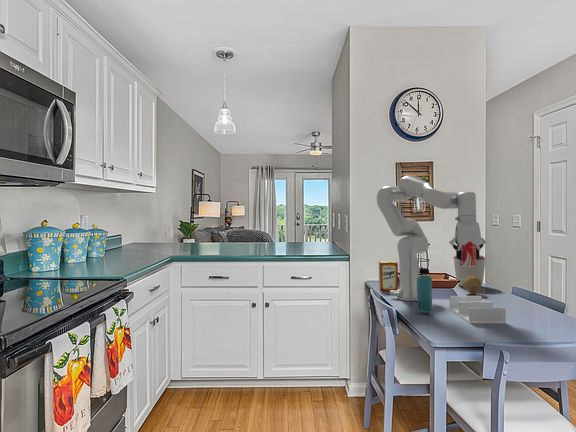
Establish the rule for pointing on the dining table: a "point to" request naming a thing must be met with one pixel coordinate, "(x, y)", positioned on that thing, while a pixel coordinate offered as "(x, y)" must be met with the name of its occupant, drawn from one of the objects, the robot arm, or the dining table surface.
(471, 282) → the natural sponge
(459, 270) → the canister
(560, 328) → the dining table surface
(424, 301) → the beverage bottle
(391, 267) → the baking soda box
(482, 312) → the white holder
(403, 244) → the robot arm
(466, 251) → the soda can
